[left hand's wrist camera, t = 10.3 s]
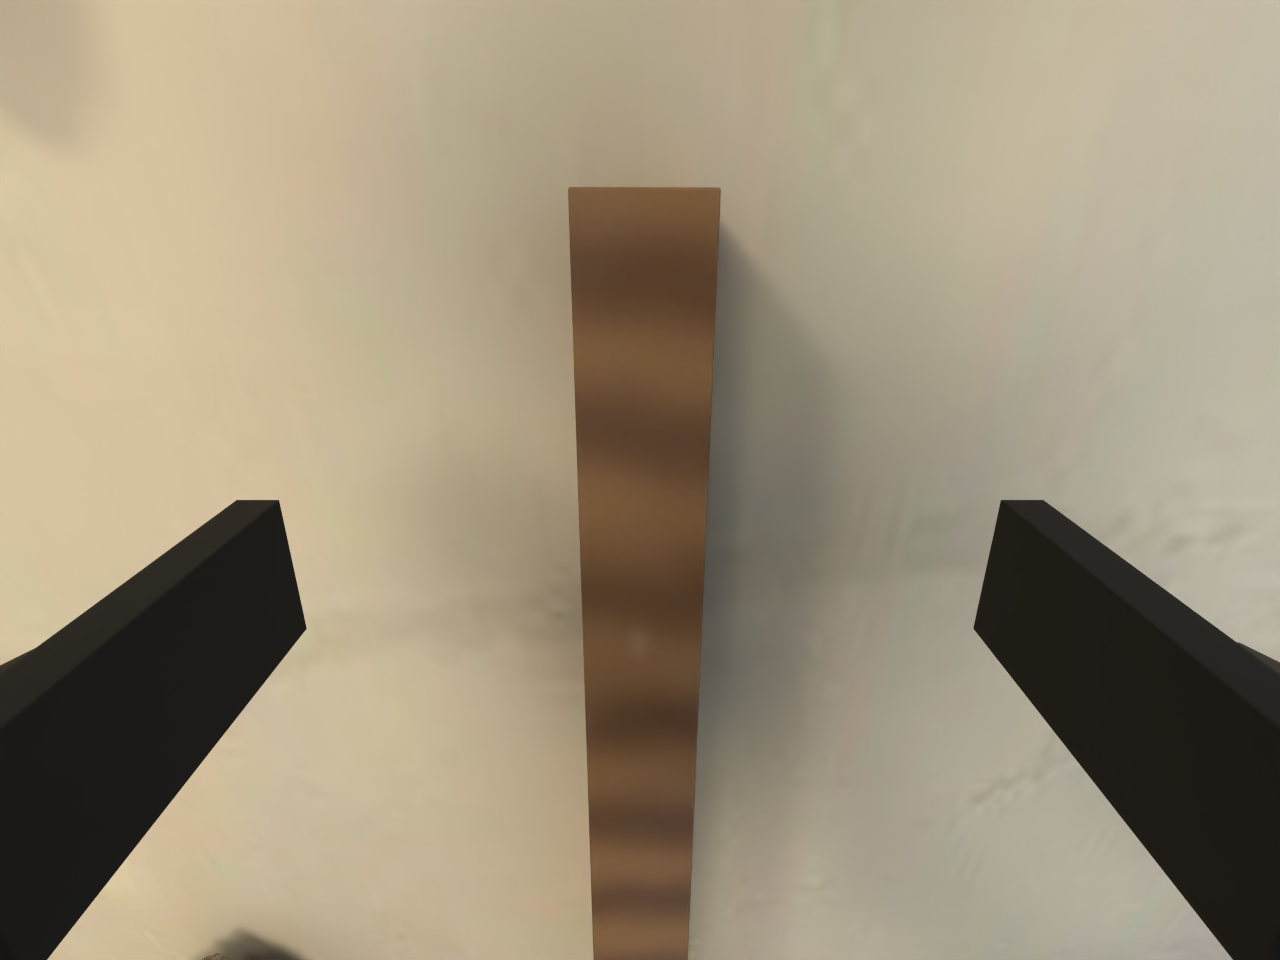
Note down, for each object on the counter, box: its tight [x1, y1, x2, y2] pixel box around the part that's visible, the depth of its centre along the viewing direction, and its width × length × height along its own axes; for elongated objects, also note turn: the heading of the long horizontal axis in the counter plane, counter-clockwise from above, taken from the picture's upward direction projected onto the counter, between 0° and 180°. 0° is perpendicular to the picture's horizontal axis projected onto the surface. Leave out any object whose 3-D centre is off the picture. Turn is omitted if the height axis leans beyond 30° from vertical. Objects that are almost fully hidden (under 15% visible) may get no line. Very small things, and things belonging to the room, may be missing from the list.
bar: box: [568, 187, 721, 960], centre depth 34 cm, size 52×5×8 cm, turn 0°
